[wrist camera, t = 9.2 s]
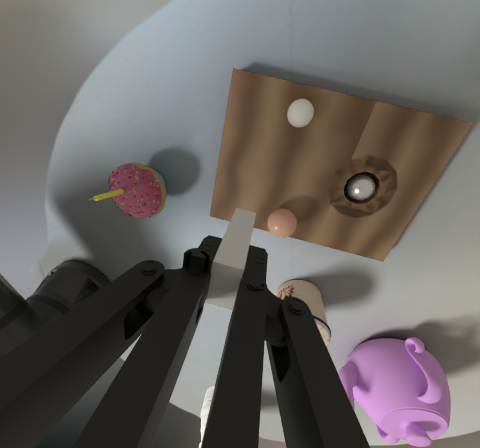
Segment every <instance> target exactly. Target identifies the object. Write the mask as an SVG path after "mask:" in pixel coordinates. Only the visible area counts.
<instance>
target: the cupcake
mask: <svg viewBox="0 0 480 448" xmlns="http://www.w3.org/2000/svg"><path fill="white" fill-rule="evenodd" d="M109 179H110V180H109ZM109 179H108V181H109V182H110V183H109V189H110V192H108V193H104V194H100V195H96V196H94V197H93V198H89V199H88V200H93V199H94V200H95V201H99V200H102V199H106V198H109V197H113V198H112V199H114V202H115V204H116V205H118V207H119V208H120V209H121V210H123V211H124V212H126V213H128V214H129V215H131V216H134V217H137V218H141V219H142V218H147V217H151V216H154V215H156V214H158V213H159V212H160V211H161V210H162V209H163V206H164V204H165V199H166V197H167V193H166V188H165V181H164V179H163V177H162V176H161V175H160V174H159V173H158V172H156V171H155V170H153V169H152V168H149V167H147V166H144V165H141V164H138V163H127V164H124V165H121V166H120V167H118V168H117V169H116V170H115V171H114V172H113V171H112V174H111V176H110V178H109Z"/></svg>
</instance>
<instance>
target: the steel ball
mask: <svg viewBox="0 0 480 448" xmlns="http://www.w3.org/2000/svg"><path fill="white" fill-rule="evenodd" d="M374 191H375V182H374V180H373V179H372V178H371V177H370V176H367V175H357V176H355V177H353V178H352V179H351V180H350V181H349V182H348V184H347V192H348V194H349V196H350V197H351V198H353V199H355V200H365V199H367V198H369V197H370V196H372V194H373V193H374Z"/></svg>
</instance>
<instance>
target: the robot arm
mask: <svg viewBox="0 0 480 448" xmlns="http://www.w3.org/2000/svg"><path fill="white" fill-rule="evenodd" d="M255 217H256V213H255V212H251V211H247V210H243V209H239V208H236V209H235V212H234V214H233V216H232V219H231V221H230V223H229V226H228V228H227V230H226V232H225V235H224V237H223V239H222V238H218V237H214V236H210V235H209V236H207V237H206V238H204V239H203V241H202V242H201V244H200V246H199V247H198V248H193V249H189V250H187V251H186V252H185V253H184V260H183V267H182V268H181V269H174V270H171V269H164V266H163V264H161V263H160V262H158V261H154V260H147V261H143V262H140V263H138V264H137V265H135V266H134V267H132V268H131V269H129V270H128V271H127V272H125V273H124V274H122V275H121V276H119V277H118V278H116V279H115V280H113V281H112V282H111V283H110V281H109V280H108V279H107V278H106V277H105V276H104V275H103V274H102V273H101V272H99V271H98V270H97V269H95V268H93V267H92V266H90V265H87V264H85V263H82V262H78V261H66V262H63V263H61V264H60V265H58V266H57V267H55V268H54V269H52V270H51V271H50V272H49V274H48V275H47V277H46V278H45V279H44V280H43V282H42V283H41V284H40V286H39V287H38V288H37V289H36V291H35V292H34V293H33V295H31V296H30V297H29V298H27V299H26V300H24V298H23V297H22V296H21V295H20V294H19V293H18V292H17V291H16V290H15V289H14V288H13V287H12V286H11V284H10V283H9V282H8V281H7V280H6V279H5V278H4V277H3V276H2V275H1V274H0V448H34V447H35V446H36V445H37V444H38V443H39V442H40V441H41V440H42V439H43V438H44V436H45V435H46V434H47V433H48V432H49V431H50V430H51V429H52V428H53V427H54V426H55V425H56V424H57V423H58V422H59V421H60V420H61V419H62V417H63V416H64V415H65V414H66V413H67V412H68V411H69V410H70V409H71V408H72V407H73V406H74V405H75V404H76V403H77V402H78V401H79V399H80V398H81V397H82V396H83V395H84V394H85V393H86V392H87V391H88V390H89V389H90V388H91V387H92V385H94V384H95V382H96V381H97V380H98V379H99V378H100V377H101V376H102V375H103V374H104V373H105V372H106V371H107V370H108V369H109V368H110V367H111V366H112V365H113V364H114V362H115V361H116V360H117V359H118V358H119V357H120V356H121V355H122V354H123V353H124V352H125V351H126V350H127V349H128V348H129V347H130V346H131V344H132V343H133V342H134V341H135V340H136V339H137V338H138V337H139V336H140V335H141V334H142V335H141V336H140V338H139V339H138V341H137V343H136V344H135V346H134V348H133V349H132V351H131V353H130V354H129V356H128V357H127V359H126V361H125V362H124V364H123V366H122V367H121V369H120V371H119V372H118V374H117V376H116V377H115V379H114V380H113V382H112V384H111V386H110V387H109V389H108V390H107V392H106V394H105V395H104V397H103V398H102V400H101V402H100V404H99V405H98V407H97V408H96V410H95V412H94V413H93V415H92V417H91V418H90V420H89V421H88V423H87V425H86V426H85V428H84V430H83V431H82V433H81V435H80V436H79V438H78V439H77V441H76V443H75V445H74V446H73V448H152V446H153V443H154V440H155V437H156V435H157V432H158V430H159V427H160V424H161V422H162V419H163V416H164V414H165V411H166V408H167V405H168V403H169V400H170V397H171V395H172V392H173V389H174V387H175V384H176V381H177V379H178V376H179V373H180V371H181V368H182V365H183V363H184V360H185V357H186V355H187V352H188V349H189V347H190V344H191V341H192V339H193V336H194V333H195V331H196V328H197V325H198V322H199V320H200V317H201V314H202V312H203V307H204V303H208V304H212V305H216V306H219V307H223V308H227V309H231V310H233V312H232V315H231V319H230V323H229V326H228V332H227V336H226V341H225V345H224V349H223V354H222V358H221V362H220V367H219V371H218V375H217V380H216V384H215V388H214V392H213V397H212V401H211V405H210V410H209V414H208V418H207V423H206V427H205V431H204V436H203V440H202V444H201V448H258V439H259V423H260V406H261V390H262V373H263V357H264V340H266V344H267V349H268V354H269V360H270V365H271V370H272V375H273V380H274V385H275V390H276V396H277V401H278V406H279V411H280V416H281V421H282V426H283V432H284V437H285V442H286V447H287V448H370V447H369V444H368V442H367V440H366V437H365V435H364V433H363V430H362V428H361V426H360V423H359V421H358V419H357V417H356V414H355V412H354V410H353V407H352V405H351V403H350V400H349V398H348V396H347V393H346V391H345V389H344V387H343V384H342V382H341V380H340V377H339V375H338V373H337V370H336V368H335V366H334V363H333V361H332V359H331V357H330V354H329V352H328V350H327V347H326V345H325V343H324V340H323V338H322V336H321V333H320V331H319V329H318V327H317V324H316V322H315V320H314V317H313V315H312V313H311V310H310V308H309V307H308V305H307V304H306V303H305V302H304V301H303V300H301V299H299V298H297V297H293V296H289V297H285V298H284V299H283V300H282V299H281V298H279V297H277V296H275V295H274V294H272V293H271V292H270V291H269V289H268V288H267V285H266V272H267V258H268V254H267V252H266V250H265V249H263V248H259V247H255V246H251V245H250V240H251V236H252V231H253V226H254V221H255ZM205 300H206V302H205Z"/></svg>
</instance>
